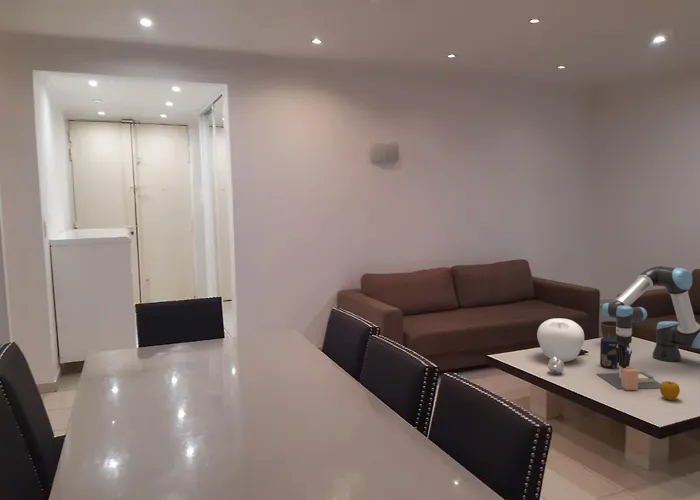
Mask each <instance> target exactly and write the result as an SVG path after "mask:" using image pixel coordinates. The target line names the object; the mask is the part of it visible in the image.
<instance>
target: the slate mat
mask: <svg viewBox="0 0 700 500" xmlns="http://www.w3.org/2000/svg"><path fill="white" fill-rule="evenodd" d="M638 374H641V373H640V372H638ZM596 376H598V377H599V378H601V379H602V380H604V381H605V382H607V383H608V384H610V385H611V386H612V387H614V388H615V389H616V390H625V389H624V388H623V387H621V378H620V377H619V372H611V373H607V372H605V373H596ZM660 385H661V383H660V382H659V381H656V380H655V379H654V382H639V383H638V390H656V389H657V390H658V389H659V390H660Z"/></svg>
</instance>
